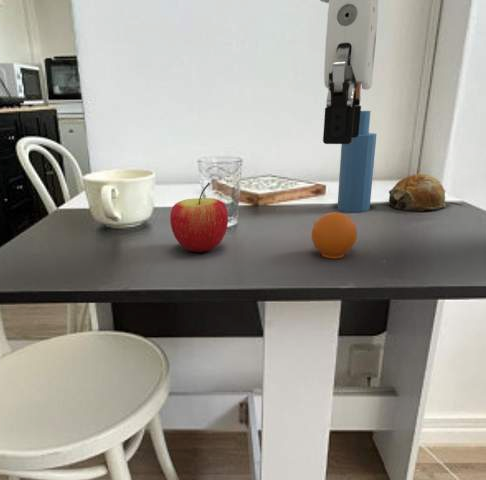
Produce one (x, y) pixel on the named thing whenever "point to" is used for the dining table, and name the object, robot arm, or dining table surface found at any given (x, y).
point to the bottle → (357, 169)
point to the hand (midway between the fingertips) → (341, 140)
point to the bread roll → (418, 193)
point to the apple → (199, 223)
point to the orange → (334, 235)
